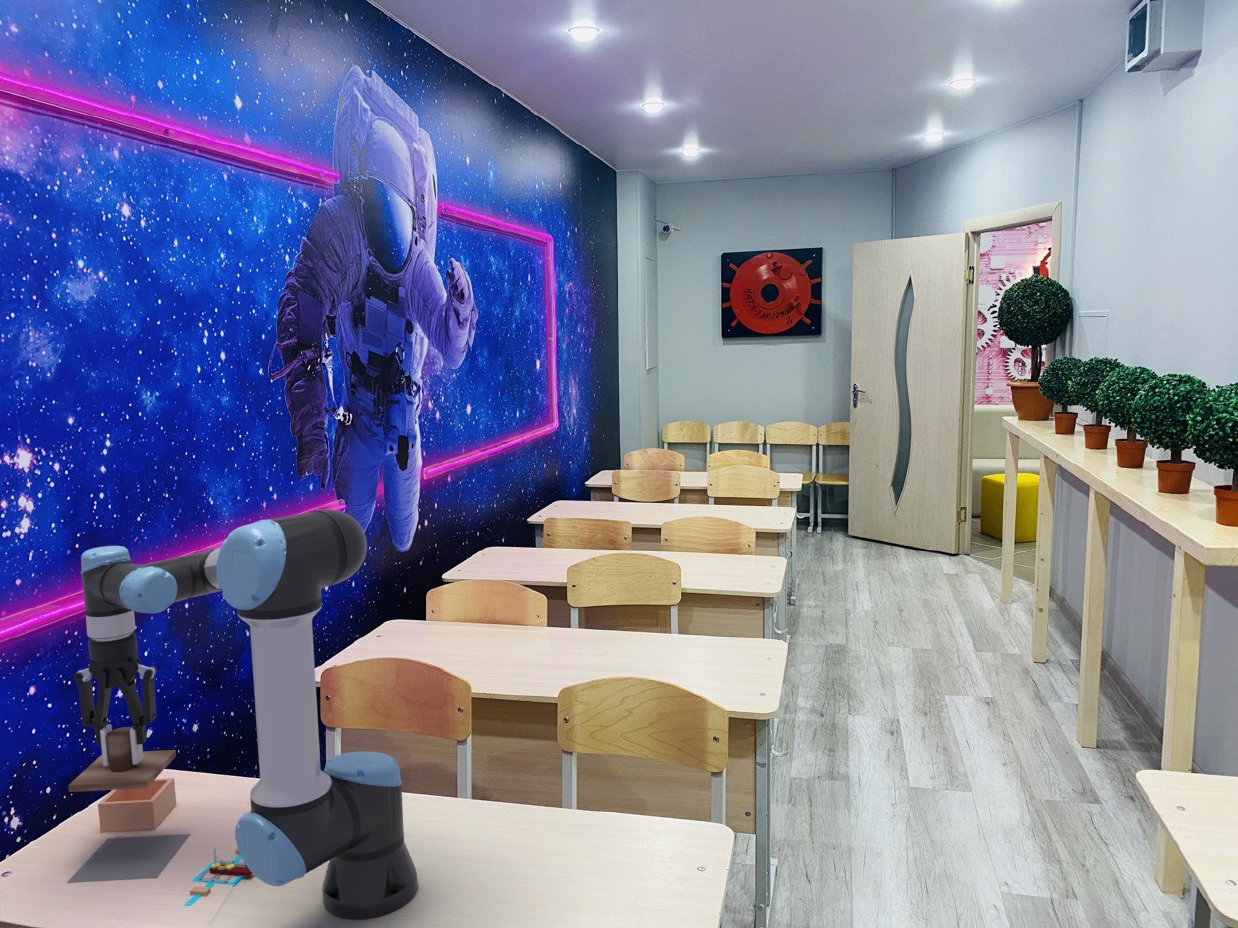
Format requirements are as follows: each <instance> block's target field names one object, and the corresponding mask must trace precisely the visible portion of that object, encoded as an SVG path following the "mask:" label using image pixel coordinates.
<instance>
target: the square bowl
mask: <svg viewBox="0 0 1238 928" xmlns="http://www.w3.org/2000/svg"><path fill="white" fill-rule="evenodd" d="M175 783H176V782H175V777H168V778H167V777H166V778H156V779H155V780H154V781H153V782H152V783H151V784H150V785H149V786H148V787H147V788H138V789H118V790H110V792H109V793H107V795H106V796H104V797H103V799H102V800H101V801H100V802H99V803H98V804H97V810H98V820H99V829H100V830H99V831H100V833H115V832H116V833H117V832H133V831H134V832H135V831H151V830H152V831H155V830H156V829H157V828H158V827H159V826H160V825H161V824H162V822H163V821H164V820H165V819H166V817H168V815H169V814H170V813H171V812H172V811H173V809H174V808H175V807H176V806H177V795H176V784H175Z"/></svg>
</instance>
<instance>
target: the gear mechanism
mask: <svg viewBox="0 0 1238 928" xmlns="http://www.w3.org/2000/svg"><path fill="white" fill-rule="evenodd" d="M212 851H213V853H212V854H213V861H211V863H210V864H208V866H206V867H205V868H204V869H203V870H201V872H199V874H197V875H196V876H195V877H194V878H193V879H192V882H195V883H206V885H204V886H193V887H192V888H191V889H190V890H189V895H190V896H192V897H191V898H190V899H189V900H187V901H186V902H185V903H184V904H183V906H185V907H186V906H189V907H191V906H192V905H193V904H194V903H196V902H197V901H198V900H199V899H200V898H201V897H205V898H206V897H207V896H208V895H209V894H211V888H212V887H213V886H214V885H215V884H218V885H232V888H234V887H236V886H237V885H238V884H239V883H240V882H241V881H242V880H243V879H244V878H245V877H251V876H252V875H254V874H253V873H252V872H251V871H250V869H249V868H248V866H247V865H246V864H245V862H244V861H241V860H243V859H242V857H241V855H240V852H239V850H238V847H237V848H236V849H235V855H237V856H236V857H235V858H234V859H233V860H231V861H230V860H223V859H222V860H217V849H216V847H212ZM208 873H210V874H212V875H213V874H214V875H213V877H212V876H211V877H209V878H206V877H205V876H206V875H207V874H208ZM222 875H227V876H229V877H227V878H224V879H220V877H221V876H222ZM234 876H237V877H235V878H234V879H233V880H232V881H230V880H231V879H232V878H233V877H234Z"/></svg>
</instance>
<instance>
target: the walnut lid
mask: <svg viewBox="0 0 1238 928" xmlns="http://www.w3.org/2000/svg"><path fill="white" fill-rule="evenodd" d="M132 727H133V726H130V727H129V726H127V727H126V726H125V727H119V728H115V729H112V731H110V732H109V733H107V741H108V751H109V762H110V764H109V765H108V766H103V757H102V754H101V755H100V756H98V757H97V759H96V760H95V761H93V762H92V763H91V764H90V765H89V766H87V768H86V769H84V770H83V771H82V772H80V774H79V775H78V776H77V777H76V778H74V779H73V780H72V781H71V782H70V783H69V784H68V792H69V793H71V792H92V791H93V792H94V791H95V792H97V791H112V790H118V789H138V788H147V787H148V786H149V785H150V784H151V783H152V782H153V781H154V780H155V779H158V777H159V775H160V774H161V773H162V772H163V771H164V770H165V769H166V768H167V767H168V766H169V765H170V763H171V762H172V761H173V760H174V759H175V758H176V757H177V751H176V749H168V750H149V751H147V750H145V751H144V750H143V759H142V760H141V761H140V762H139V763H138V764H133V762H132V751H131V740H130V729H131V728H132Z"/></svg>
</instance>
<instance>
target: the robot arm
mask: <svg viewBox="0 0 1238 928" xmlns="http://www.w3.org/2000/svg"><path fill="white" fill-rule="evenodd" d="M367 552H368V541H367V536H366V533H365V529H363V527H362V526H361V524H360V522H358V521H357V520H356V518H354V517H353V516H351V515H349V514H348V513H347V512H344V511H341V510H336V509H317V510H312V511H308V512H305V513H304V512H303V513H298V514H297V513H296V514H293V515H287V516H282V517H275V518H270V519H269V518H268V519H260V520H258V521H257V520H256V521H254V522H253V523H249V524H246V525H242V526H239V527H237V528H236V529H235V528H234V530H232V531H231V532H230V533H229V534H228V536H227V538H226V539H224V541H223V542H222V544H221V546H220V547H217V548H211V549H209V550H204V551H200V552H196V553H191V554H186V555H183V556H177V557H172V558H168V559H163V560H158V561H154V562H153V561H152V562H148V563H144V564H142V563H141V564H135V563H133V562H132V563H131V561H132V559H131V555H130V552H129V549H128V548H126V547H125V546H122V545H121V546H120V545H108V546H106V545H105V546H98V547H94V548H91V549H88V550H85V551H84V552H83V553H82V554H81V555H80V562H81V563H80V564H81V565H80V566H81V567H80V569H81V571H80V575H81V583H82V593H83V601H84V609H85V620H86V621H85V623H86V635H87V637H88V638H89V639H88V641H87V644H88V654H89V656H88V657H89V659H90V663H89V665H88V668H82V669H80V670H78V671H77V672H76V673H74V674H73V676H72V677H73V680H74V682H75V684H76V685H77V687H78V689H77V690H78V697H79V698H78V699H79V706H80V714H81V715H80V716H81V723H82V726H83V727H84V728H88V727H89V728H92V729H93V730H94V734H95V744H96V746H97V747H101V755H102V757H103V766H108V765H109V764H110V762H109V751H108V741H107V733H109V732H110V731H112V730H113V726H112V724H107V723H108V722H109V720H108V716H109V715H108V714H109V707H110V702H111V695H112V689H113V688H118V689H119V690H120V692H121V694H122V695H123V697H124V700H125V704H126V706H127V709H128V713H129V716H130V718H131V721H132V724H133V726H131V727H132V728H131V729H130V740H131V751H132V762H133V764H138V763H139V762H140V761H141V760H142V759H143V751H144V750H143V747H144V746H143V745H144V744H145V743H146V741H147V739H148V737H147V725H150V724H151V723H152V722H153V721H154V720H155V719H156V718H157V704H156V703H157V701H156V688H155V677H156V673H157V672H158V668H157V666H155V665H151V666H150V667H149V666H146V665H143V664H142V662H141V661H140V659H139V657H138V642H137V641H138V640H137V634H136V632H135V630H136V620H135V612H136V613H141V614H158V613H162V612H163V611H165V610H166V609H168V608H169V607H170V606H171V605H172V604H173V603H177V602H181V601H184V600H188V599H192V598H196V597H199V596H204V595H208V594H212V593H217V592H218V593H219V592H222V595H221V596H222V597H223V599H224V600H225V601H226V602H227V604H228V605H230V606H231V607H232V608H234V609H237V616H238V618H239V619H241V620H242V621H243V622H245V623H246V624H247V625H249V629H250V645H251V662H252V674H253V675H252V676H253V692H254V704H255V720H256V734H257V735H256V736H257V748H258V749H257V750H258V751H257V752H258V765H259V767H258V768H259V780H258V781H257V782H256V783H255V784H254V786H253V787H252V788H251V790H250V799H249V800H250V812H246V813H244V814H243V815H242V816H241V817H240V818H239V819H238V820H237V822H236V825H235V831H234V837H235V843H236V847H237V848H238V850H239V852H240V854H239V855H241V857H242V859H241V860H242V862H245V864H246V865H247V866H248V868H249V869H250V871H251V872H252V873H253V874H252V875H253V876H254V877H256V878H257V879H258V880H259V881H261V882H263V883H264V884H266V885H269V886H272V887H282V886H284V885H287V884H289V883H291V882H293V881H294V880H296V879H297V880H298V879H301V878H303V877H305V875H306V874H308V873H309V872H311V871H313V870H315V869H316V868H318V867H320V866H322V865H324V864H325V863H327V862H328V865H327V868H326V871H325V875H324V879H323V884H322V890H321V891H322V903H323V906H324V908H325V909H326V911H328V912H329V913H330V914H332V915H334V916H336V917H340V918H345V919H350V920H351V919H353V920H356V919H357V920H359V919H361V920H363V919H369V918H375V917H379V916H384V915H386V914H389V913H392V912H394V911H396V910H398V909H400V908H402V907H403V906H405V905H406V904H408V903H409V902H410V901H411V899H413V897H414V896H415V895H416V893H417V891H418V887H419V884H418V883H419V882H418V873H417V868H416V866H415V864H414V862H413V859H412V857H411V854H410V852H409V849H408V847H407V845H406V842H405V835H404V834H405V832H404V831H405V830H404V813H403V810H404V808H403V790H402V789H403V787H402V785H403V780H402V779H401V772H400V765H399V762H398V761H397V760H396V759H395V758H394V757H392V756H390V755H388V754H385V753H383V752H382V753H381V752H377V751H352V752H351V751H350V752H345V753H342V754H338V755H336V756H332V757H331V758H330V759H328V760H327V762H326V764H325V766H324V767H325V768H324V770H321V755H320V754H321V753H320V738H319V723H318V722H319V720H318V702H317V686H316V670H315V667H316V666H315V652H314V651H315V648H314V635H313V633H314V632H313V618H314V617H315V615H317V614H318V612H319V611H321V609H322V608H323V607H322V604H323V603H322V589H324V588H327V587H330V586H334V585H337V584H340V583H342V582H343V581H344V582H345V581H346V580H348V579H349V578H351V577H352V576H354V574H356V572H358V571H359V570H360V568H361V566H362V565H363V562H364V561H365V559H366V556H367ZM138 673H139V678H140V680H141V695H142V702H141V699H140V696H139V692H138V690H137V682H136V679H135V677H136V675H137V674H138ZM92 677H93V678H94V679H95V680H96V681H97V682H98V685H97V690H96V691H97V699H96V706H95V699H94V692H93V682H92ZM246 865H245V866H246Z"/></svg>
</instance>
